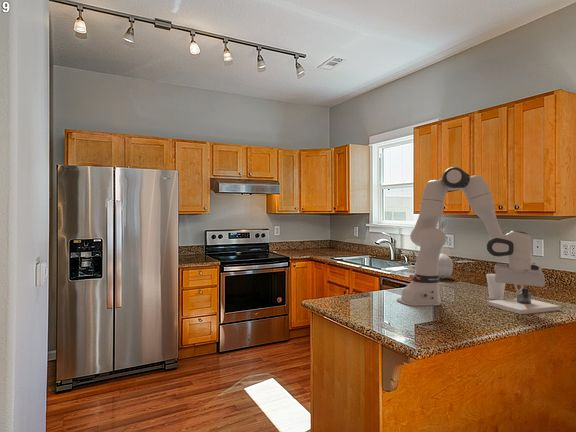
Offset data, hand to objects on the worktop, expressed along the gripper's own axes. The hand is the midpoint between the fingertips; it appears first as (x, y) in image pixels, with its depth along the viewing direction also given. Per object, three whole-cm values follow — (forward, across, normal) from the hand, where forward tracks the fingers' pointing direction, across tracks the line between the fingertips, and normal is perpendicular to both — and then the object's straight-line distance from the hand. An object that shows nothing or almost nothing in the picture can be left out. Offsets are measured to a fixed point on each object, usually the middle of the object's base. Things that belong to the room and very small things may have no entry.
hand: (518, 293), depth 173 cm
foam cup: (+9, -10, +24) cm, 27 cm away
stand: (+8, +2, +10) cm, 13 cm away
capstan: (+6, +2, +7) cm, 9 cm away
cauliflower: (+9, -50, +77) cm, 92 cm away
